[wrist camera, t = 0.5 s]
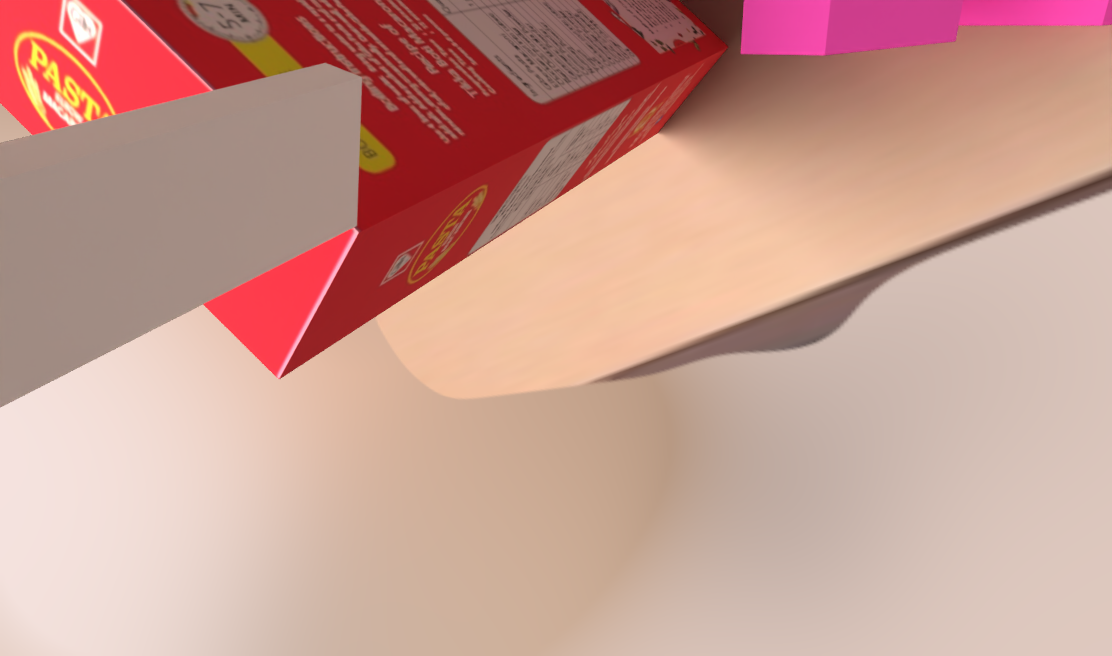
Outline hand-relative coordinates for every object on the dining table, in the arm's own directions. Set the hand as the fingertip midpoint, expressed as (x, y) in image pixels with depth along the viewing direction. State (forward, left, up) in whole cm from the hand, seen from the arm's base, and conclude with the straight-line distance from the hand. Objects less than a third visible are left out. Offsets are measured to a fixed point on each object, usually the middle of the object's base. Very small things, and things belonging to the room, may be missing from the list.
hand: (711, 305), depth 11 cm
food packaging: (+1, -15, -26) cm, 30 cm away
